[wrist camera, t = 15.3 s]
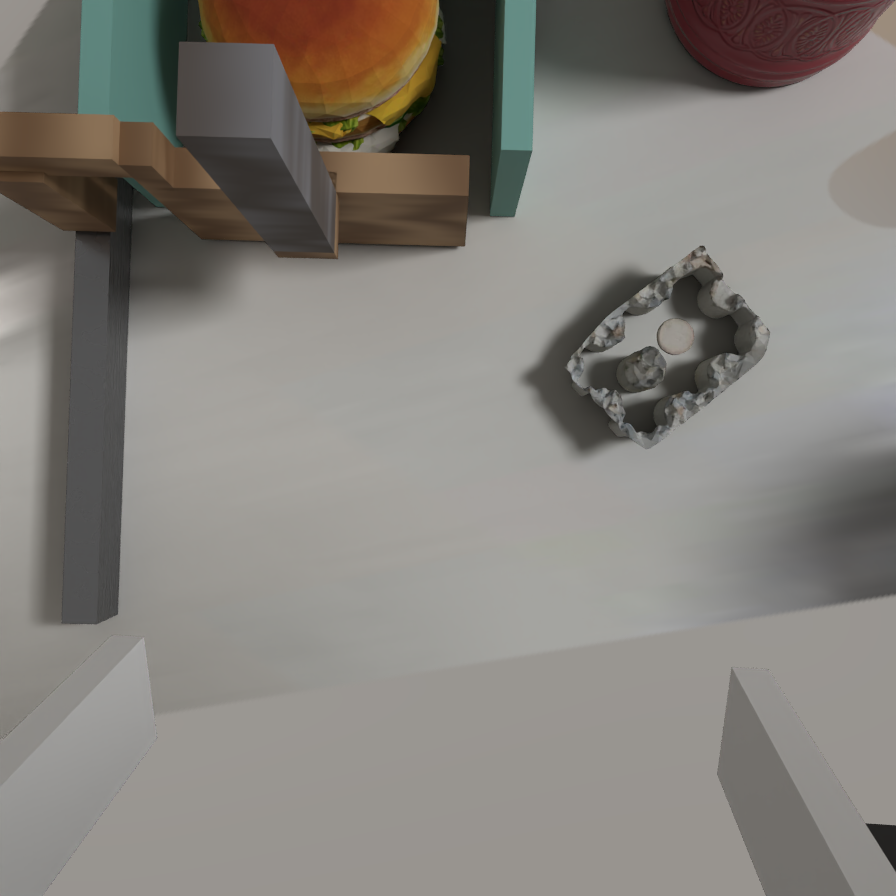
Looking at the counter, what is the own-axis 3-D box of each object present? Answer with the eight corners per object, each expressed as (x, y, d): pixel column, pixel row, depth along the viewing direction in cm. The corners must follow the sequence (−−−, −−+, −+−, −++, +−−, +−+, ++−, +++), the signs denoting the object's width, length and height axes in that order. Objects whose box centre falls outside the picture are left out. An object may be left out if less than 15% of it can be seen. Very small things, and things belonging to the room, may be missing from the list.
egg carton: (682, 255, 42) (707, 233, 38) (760, 350, 42) (793, 338, 38) (549, 364, 42) (559, 353, 38) (626, 459, 42) (645, 458, 38)
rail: (134, 133, 42) (114, 113, 40) (117, 614, 42) (96, 624, 39) (102, 132, 42) (80, 112, 40) (84, 613, 42) (61, 623, 39)
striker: (465, 205, 42) (481, -29, 22) (463, 295, 42) (476, 143, 22) (88, 195, 42) (-245, -49, 22) (85, 285, 42) (-252, 124, 22)
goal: (521, -57, 42) (541, -197, 33) (514, 216, 42) (532, 150, 33) (165, -67, 42) (89, -209, 33) (156, 206, 42) (76, 138, 33)
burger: (408, -65, 42) (396, -227, 32) (478, 140, 42) (488, 42, 32) (202, 3, 42) (127, -137, 32) (271, 210, 42) (217, 132, 32)
